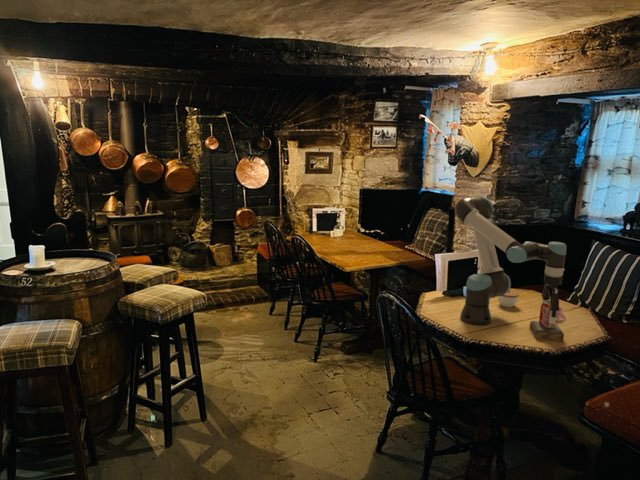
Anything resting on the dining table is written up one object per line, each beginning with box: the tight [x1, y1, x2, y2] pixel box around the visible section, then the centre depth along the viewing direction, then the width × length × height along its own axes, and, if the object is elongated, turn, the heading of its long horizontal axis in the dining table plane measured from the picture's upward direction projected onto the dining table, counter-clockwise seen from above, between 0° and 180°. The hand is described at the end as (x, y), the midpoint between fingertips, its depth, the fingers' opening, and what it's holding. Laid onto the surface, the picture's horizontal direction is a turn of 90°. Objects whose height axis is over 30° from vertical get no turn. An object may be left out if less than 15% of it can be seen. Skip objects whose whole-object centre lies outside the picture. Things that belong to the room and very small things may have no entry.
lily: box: [556, 306, 567, 323], centre depth 229 cm, size 12×12×10 cm
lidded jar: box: [497, 290, 520, 308], centre depth 247 cm, size 11×11×9 cm
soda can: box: [538, 300, 557, 328], centre depth 207 cm, size 7×7×12 cm
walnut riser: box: [528, 320, 565, 342], centre depth 209 cm, size 12×12×4 cm
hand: (547, 317), depth 208 cm, fingers open, 13 cm apart
